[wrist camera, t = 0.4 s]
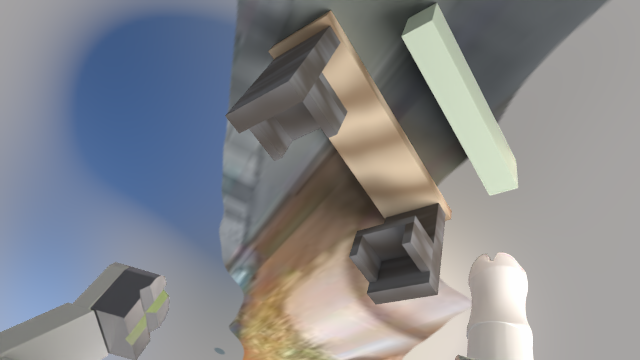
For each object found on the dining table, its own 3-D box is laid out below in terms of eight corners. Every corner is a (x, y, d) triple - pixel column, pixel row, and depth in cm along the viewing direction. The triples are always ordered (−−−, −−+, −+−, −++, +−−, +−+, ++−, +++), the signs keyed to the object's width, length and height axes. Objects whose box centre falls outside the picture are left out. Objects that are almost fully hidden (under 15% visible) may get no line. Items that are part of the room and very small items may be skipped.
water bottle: (499, 288, 62) (505, 487, 44) (458, 264, 62) (446, 455, 43) (538, 265, 58) (563, 476, 39) (494, 238, 57) (498, 440, 38)
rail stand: (273, 45, 49) (216, 107, 38) (330, 10, 44) (283, 68, 34) (396, 225, 60) (378, 310, 50) (451, 211, 56) (443, 300, 46)
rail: (408, 17, 43) (401, 36, 39) (436, 1, 41) (432, 19, 38) (489, 168, 51) (489, 195, 47) (515, 160, 49) (518, 187, 46)
